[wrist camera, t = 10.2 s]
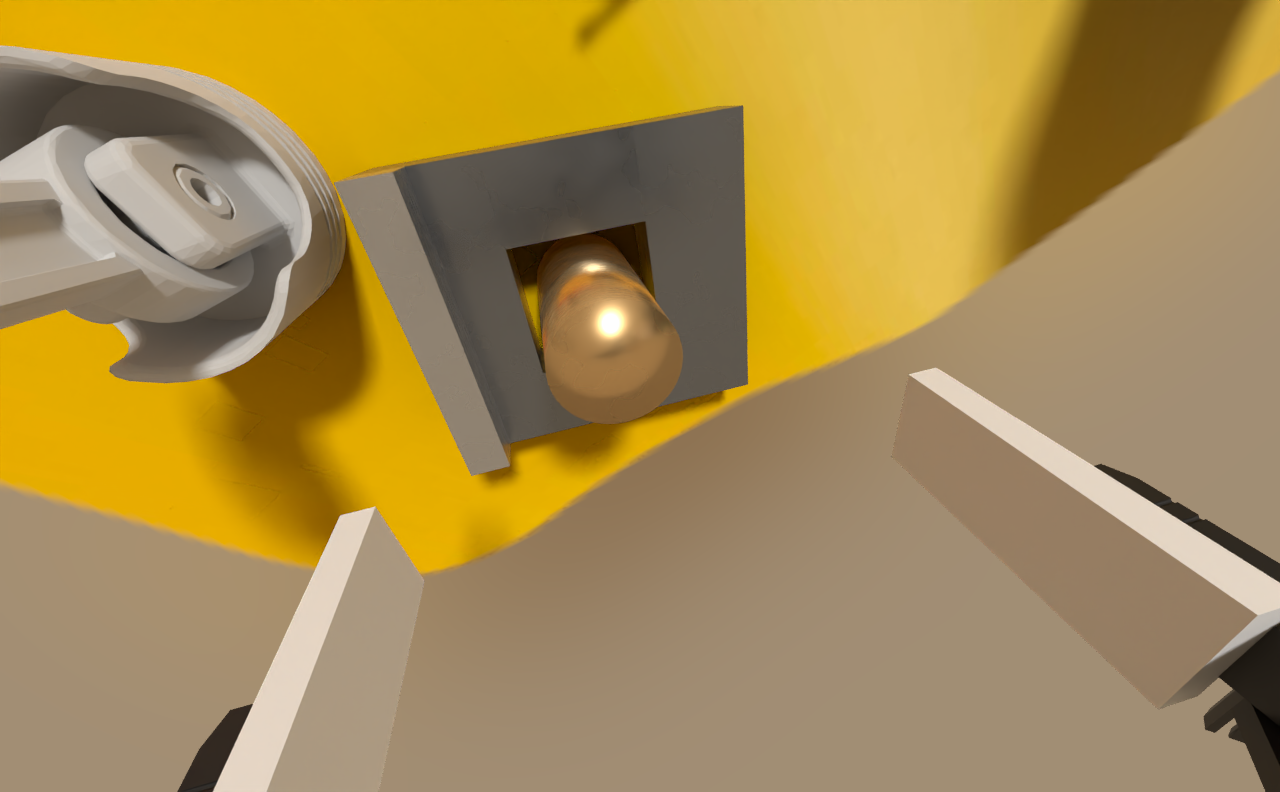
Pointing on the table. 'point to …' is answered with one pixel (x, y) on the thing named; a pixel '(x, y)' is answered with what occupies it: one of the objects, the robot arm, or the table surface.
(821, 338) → the table surface
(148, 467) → the table surface
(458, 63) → the table surface
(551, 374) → the copper cylinder rod
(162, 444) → the table surface
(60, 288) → the engine component
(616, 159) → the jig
